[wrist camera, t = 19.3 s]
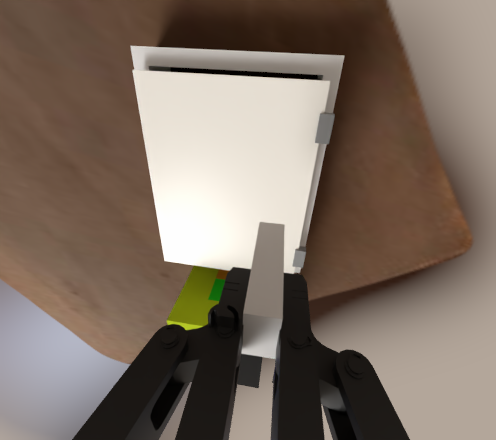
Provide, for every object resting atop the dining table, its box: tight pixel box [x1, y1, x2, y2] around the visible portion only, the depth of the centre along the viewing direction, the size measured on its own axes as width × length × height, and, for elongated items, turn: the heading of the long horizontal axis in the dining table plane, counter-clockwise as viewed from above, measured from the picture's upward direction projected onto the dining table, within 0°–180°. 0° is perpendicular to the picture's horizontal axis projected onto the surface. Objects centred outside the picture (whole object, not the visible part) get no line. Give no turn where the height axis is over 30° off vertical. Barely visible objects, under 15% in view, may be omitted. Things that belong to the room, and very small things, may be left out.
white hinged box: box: [131, 46, 344, 273], centre depth 24 cm, size 20×15×4 cm
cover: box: [133, 70, 335, 274], centre depth 22 cm, size 18×15×1 cm
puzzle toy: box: [167, 265, 262, 388], centre depth 32 cm, size 10×10×10 cm
